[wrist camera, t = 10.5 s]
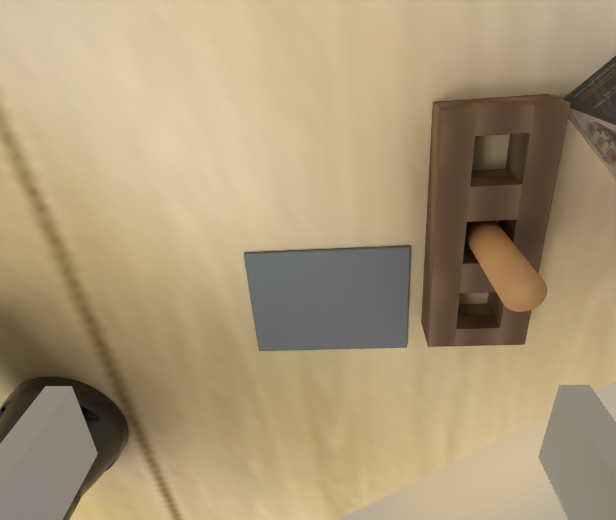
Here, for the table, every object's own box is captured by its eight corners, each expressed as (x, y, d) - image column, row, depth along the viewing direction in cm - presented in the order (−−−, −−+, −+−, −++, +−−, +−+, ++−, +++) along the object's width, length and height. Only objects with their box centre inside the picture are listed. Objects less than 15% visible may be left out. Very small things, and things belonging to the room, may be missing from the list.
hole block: (421, 322, 47) (428, 346, 43) (432, 102, 37) (443, 110, 33) (510, 319, 46) (524, 344, 43) (547, 94, 36) (570, 102, 32)
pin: (457, 239, 42) (498, 312, 32) (460, 209, 41) (504, 275, 30) (490, 237, 42) (543, 311, 31) (494, 207, 41) (550, 274, 30)
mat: (259, 348, 50) (259, 350, 49) (244, 252, 44) (243, 254, 44) (406, 345, 48) (406, 347, 48) (409, 245, 43) (409, 247, 42)
